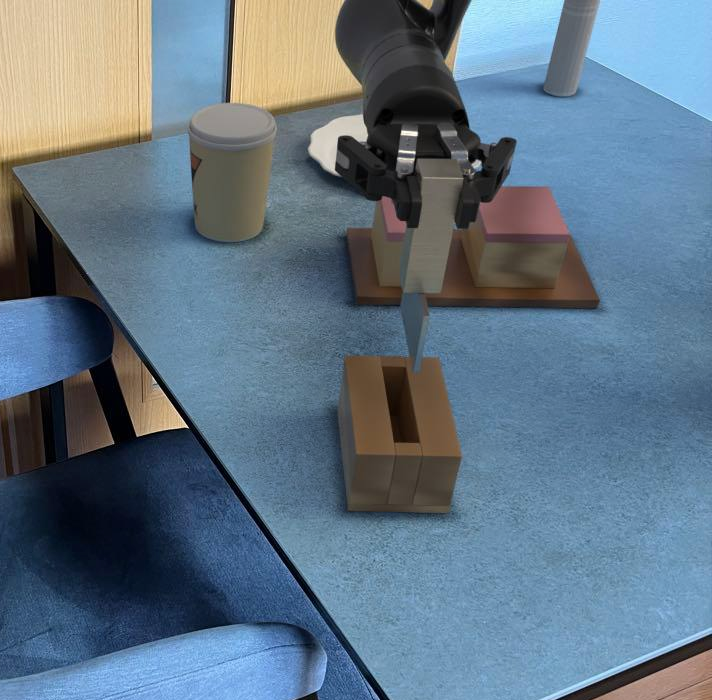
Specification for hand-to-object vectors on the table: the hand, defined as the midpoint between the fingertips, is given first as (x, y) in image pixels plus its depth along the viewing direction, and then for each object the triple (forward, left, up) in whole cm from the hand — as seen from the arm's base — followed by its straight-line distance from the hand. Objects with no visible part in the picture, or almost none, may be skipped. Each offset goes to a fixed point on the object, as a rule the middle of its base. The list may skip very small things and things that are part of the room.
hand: (440, 215), depth 70 cm
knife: (0, -3, -12) cm, 12 cm away
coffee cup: (+14, -41, -23) cm, 49 cm away
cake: (-12, -32, -23) cm, 41 cm away
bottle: (-31, -80, -23) cm, 89 cm away
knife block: (0, -1, -23) cm, 23 cm away
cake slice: (-3, -32, -22) cm, 39 cm away
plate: (-6, -58, -23) cm, 63 cm away
